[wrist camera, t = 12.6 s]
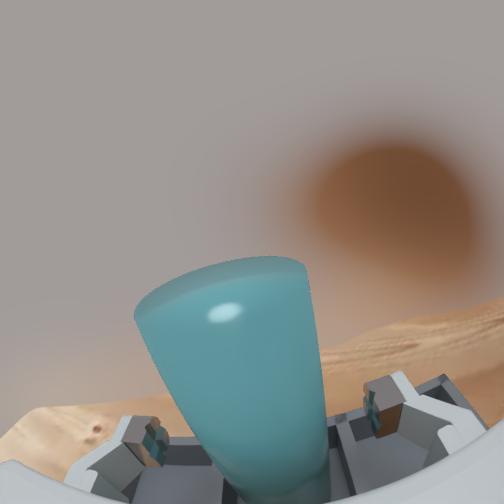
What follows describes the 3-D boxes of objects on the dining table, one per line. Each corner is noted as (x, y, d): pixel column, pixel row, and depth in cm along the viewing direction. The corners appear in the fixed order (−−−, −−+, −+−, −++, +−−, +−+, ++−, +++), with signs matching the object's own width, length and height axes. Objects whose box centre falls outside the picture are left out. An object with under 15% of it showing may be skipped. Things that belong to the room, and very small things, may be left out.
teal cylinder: (286, 458, 15) (227, 254, 11) (347, 485, 11) (340, 258, 7) (235, 502, 11) (114, 306, 8) (295, 541, 8) (194, 362, 4)
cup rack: (432, 397, 16) (440, 362, 15) (491, 487, 5) (518, 459, 4) (144, 451, 17) (122, 423, 17) (113, 547, 7) (76, 528, 6)
